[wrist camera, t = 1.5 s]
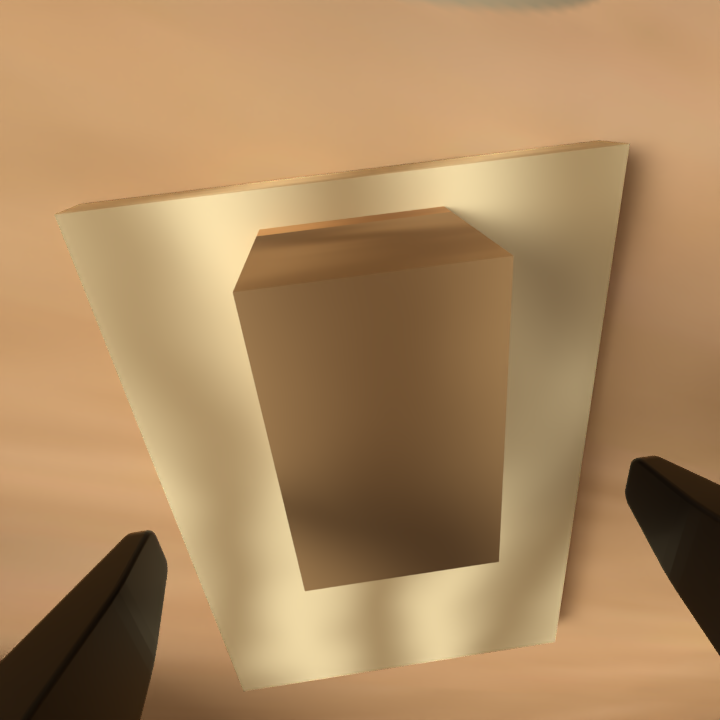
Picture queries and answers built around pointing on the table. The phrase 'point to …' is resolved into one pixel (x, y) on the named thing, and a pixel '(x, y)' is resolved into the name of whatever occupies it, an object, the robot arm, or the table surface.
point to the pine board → (246, 425)
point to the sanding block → (382, 389)
